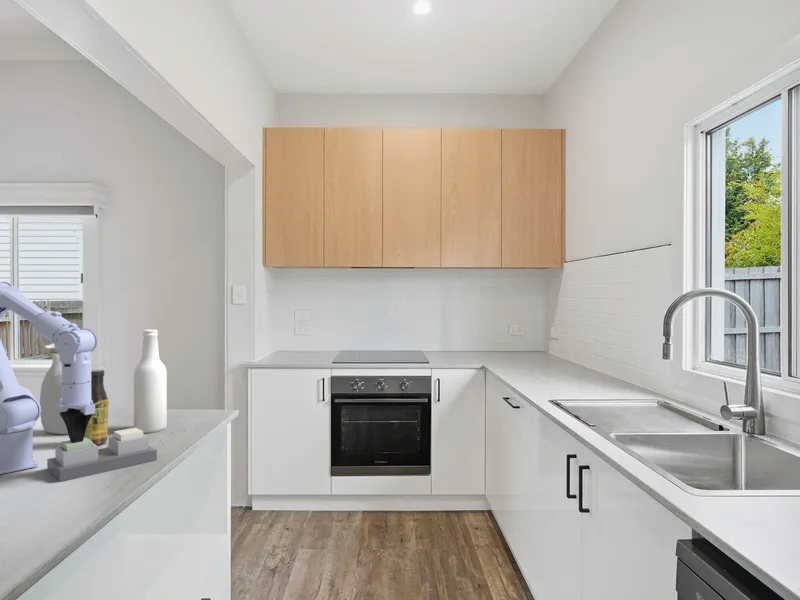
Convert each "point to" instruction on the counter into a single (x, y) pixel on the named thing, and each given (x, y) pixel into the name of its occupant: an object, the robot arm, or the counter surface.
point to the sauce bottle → (98, 410)
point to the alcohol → (150, 387)
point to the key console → (100, 458)
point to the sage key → (76, 445)
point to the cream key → (128, 434)
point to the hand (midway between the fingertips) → (76, 441)
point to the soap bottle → (52, 398)
